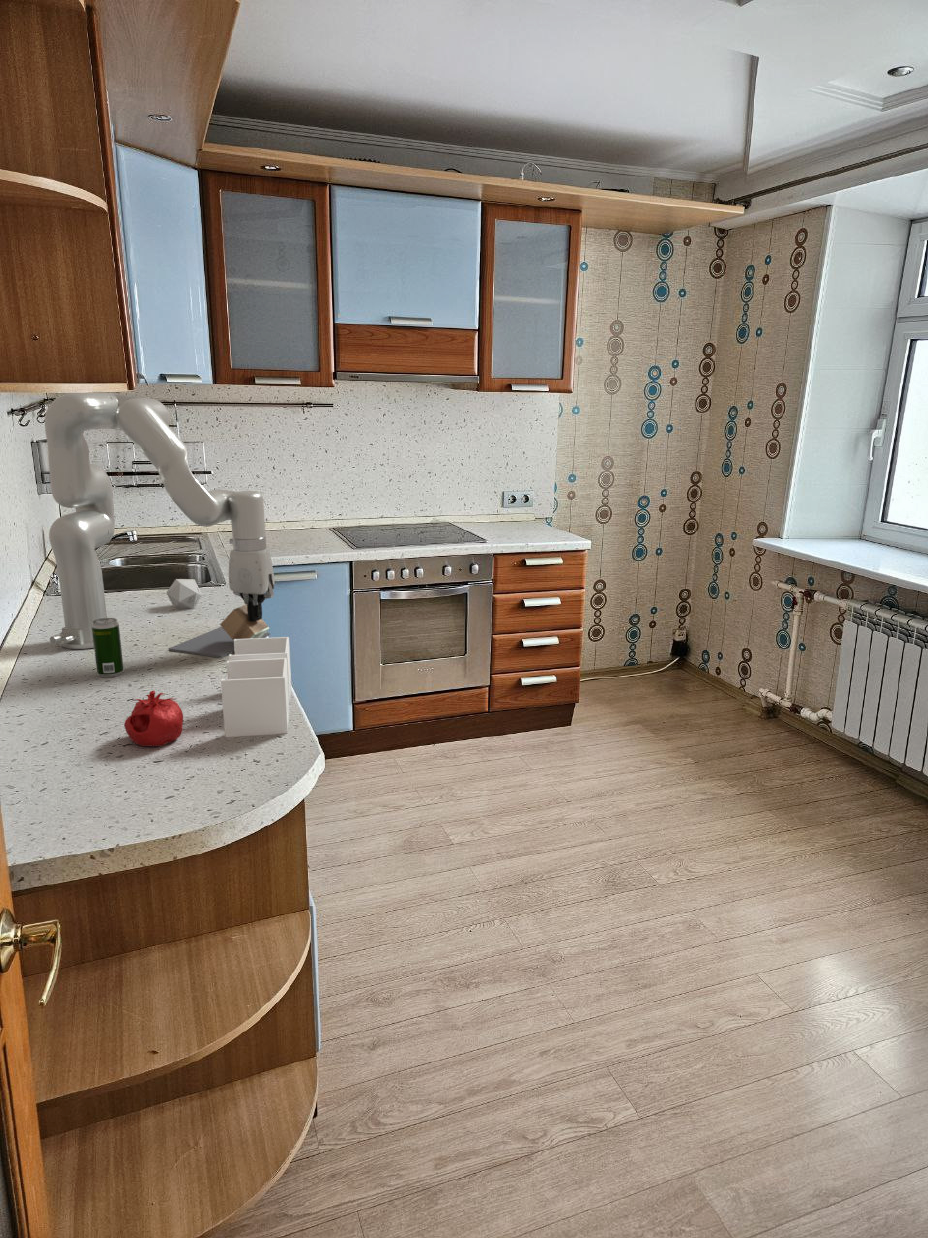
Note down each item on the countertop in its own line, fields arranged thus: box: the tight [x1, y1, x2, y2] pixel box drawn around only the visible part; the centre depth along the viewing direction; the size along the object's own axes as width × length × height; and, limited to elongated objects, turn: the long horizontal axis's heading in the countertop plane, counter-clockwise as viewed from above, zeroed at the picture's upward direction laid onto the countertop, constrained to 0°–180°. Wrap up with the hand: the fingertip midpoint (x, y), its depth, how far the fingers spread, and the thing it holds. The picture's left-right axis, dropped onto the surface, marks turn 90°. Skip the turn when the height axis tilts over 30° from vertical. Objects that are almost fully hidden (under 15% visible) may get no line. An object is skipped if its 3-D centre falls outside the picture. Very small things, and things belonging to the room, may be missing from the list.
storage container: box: [220, 636, 292, 738], centre depth 156 cm, size 25×11×11 cm, turn 10°
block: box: [219, 604, 270, 641], centre depth 195 cm, size 6×6×8 cm
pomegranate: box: [123, 690, 184, 747], centre depth 142 cm, size 10×10×9 cm
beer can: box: [92, 617, 124, 678], centre depth 174 cm, size 5×5×12 cm
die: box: [165, 578, 203, 610], centre depth 229 cm, size 8×9×10 cm
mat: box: [168, 626, 271, 659], centre depth 198 cm, size 20×15×1 cm
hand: (255, 619), depth 193 cm, fingers closed
